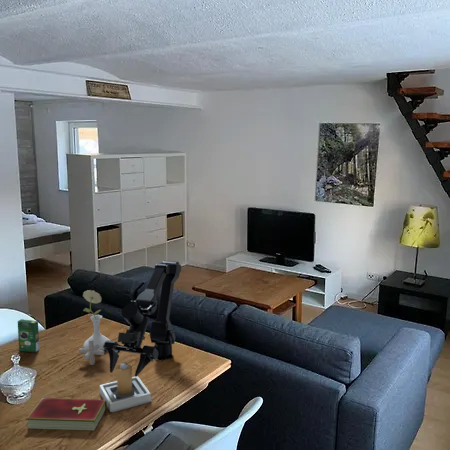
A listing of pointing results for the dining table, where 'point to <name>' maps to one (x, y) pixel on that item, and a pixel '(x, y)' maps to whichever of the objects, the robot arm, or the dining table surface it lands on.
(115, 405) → the box
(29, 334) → the coffee box
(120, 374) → the beige bottle
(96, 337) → the flower in vase
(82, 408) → the hardcover book
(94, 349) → the pipe connector
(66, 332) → the dining table surface
